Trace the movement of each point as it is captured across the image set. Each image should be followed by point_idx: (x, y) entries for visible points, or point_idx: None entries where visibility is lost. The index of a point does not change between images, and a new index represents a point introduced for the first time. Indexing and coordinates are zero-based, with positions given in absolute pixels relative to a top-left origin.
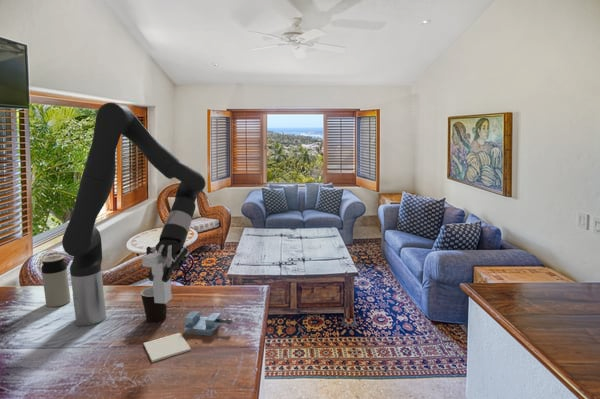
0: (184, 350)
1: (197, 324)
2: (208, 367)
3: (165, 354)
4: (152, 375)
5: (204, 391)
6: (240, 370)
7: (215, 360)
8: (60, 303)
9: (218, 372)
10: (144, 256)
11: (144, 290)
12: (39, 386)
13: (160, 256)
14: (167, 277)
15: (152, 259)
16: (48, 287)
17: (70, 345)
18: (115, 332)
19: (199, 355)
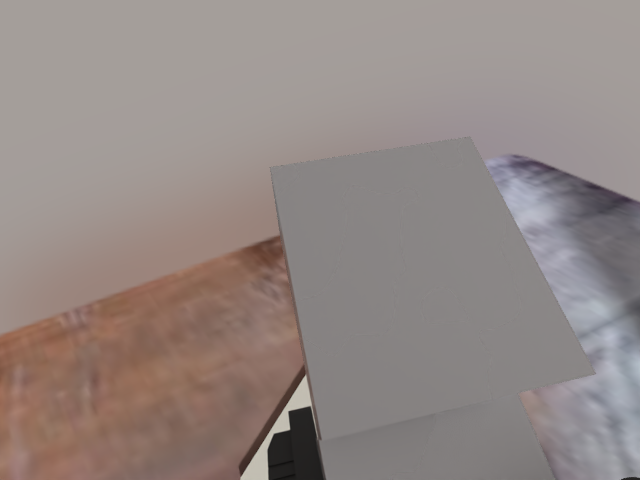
0: (254, 456)
1: None
2: (126, 409)
3: (300, 402)
4: (270, 308)
5: (92, 309)
6: (10, 440)
7: (119, 457)
8: None
9: (83, 398)
10: (489, 186)
11: None
12: None
13: (312, 393)
14: (268, 449)
15: (288, 176)
16: None
17: (626, 326)
18: (603, 460)
19: (191, 460)
